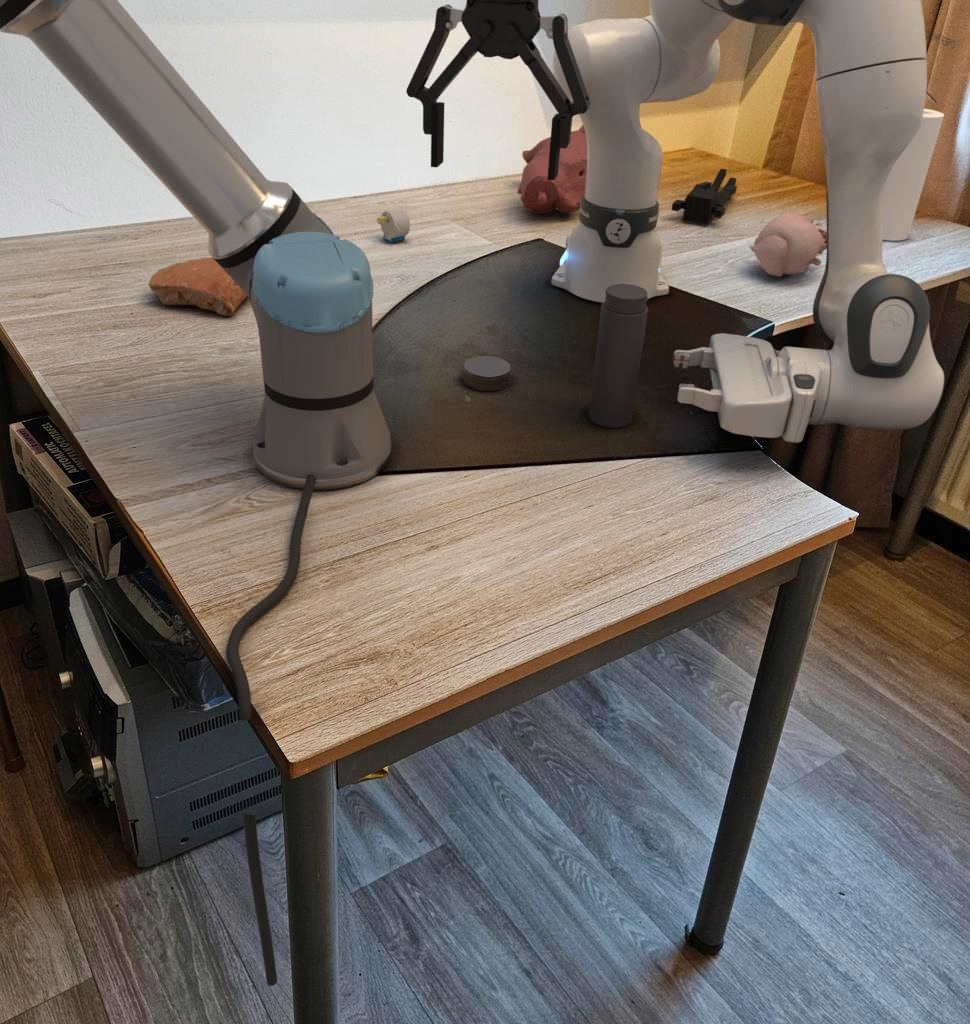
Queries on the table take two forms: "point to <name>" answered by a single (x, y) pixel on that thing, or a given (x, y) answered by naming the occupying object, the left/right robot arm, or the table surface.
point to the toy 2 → (790, 245)
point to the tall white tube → (910, 175)
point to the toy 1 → (706, 200)
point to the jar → (618, 355)
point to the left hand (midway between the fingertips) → (494, 171)
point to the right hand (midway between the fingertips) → (675, 375)
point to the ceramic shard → (198, 286)
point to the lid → (486, 373)
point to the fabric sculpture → (567, 183)
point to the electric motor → (394, 225)
